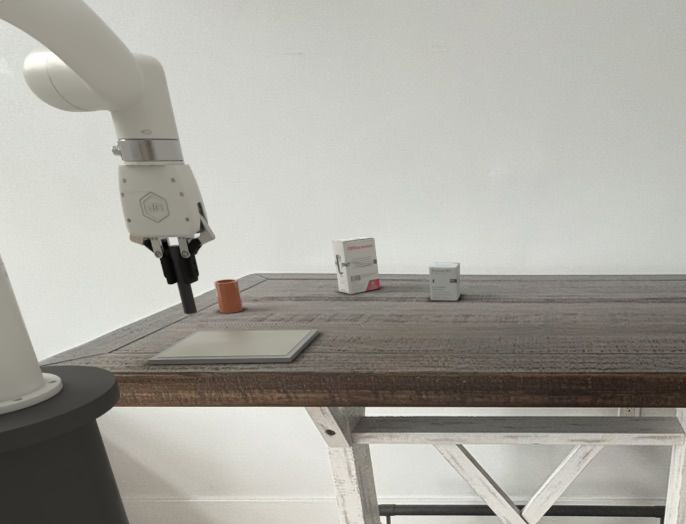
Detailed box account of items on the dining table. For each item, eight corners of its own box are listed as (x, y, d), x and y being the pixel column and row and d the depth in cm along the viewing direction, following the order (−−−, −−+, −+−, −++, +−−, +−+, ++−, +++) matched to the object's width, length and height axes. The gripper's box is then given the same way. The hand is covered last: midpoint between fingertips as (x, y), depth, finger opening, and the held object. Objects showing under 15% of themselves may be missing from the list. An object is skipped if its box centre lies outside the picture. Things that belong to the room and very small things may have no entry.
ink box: (368, 285, 135) (363, 235, 130) (380, 288, 132) (376, 237, 127) (337, 291, 129) (330, 239, 124) (349, 294, 126) (343, 241, 121)
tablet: (290, 362, 84) (289, 356, 83) (149, 364, 83) (147, 358, 83) (318, 333, 98) (318, 328, 97) (197, 335, 97) (196, 330, 97)
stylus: (194, 317, 88) (177, 246, 83) (183, 317, 88) (165, 246, 83) (200, 314, 89) (183, 244, 85) (188, 314, 89) (171, 244, 85)
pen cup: (238, 313, 111) (232, 283, 109) (216, 313, 111) (210, 283, 109) (246, 307, 115) (241, 279, 113) (225, 308, 115) (219, 279, 113)
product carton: (430, 300, 120) (428, 266, 117) (434, 294, 126) (432, 261, 123) (458, 301, 120) (456, 266, 117) (461, 294, 126) (460, 261, 123)
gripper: (78, 154, 75) (116, 288, 83) (196, 153, 76) (224, 287, 83) (112, 154, 82) (145, 278, 90) (220, 153, 83) (244, 276, 90)
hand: (183, 281), depth 86 cm, fingers closed on stylus, 2 cm apart
